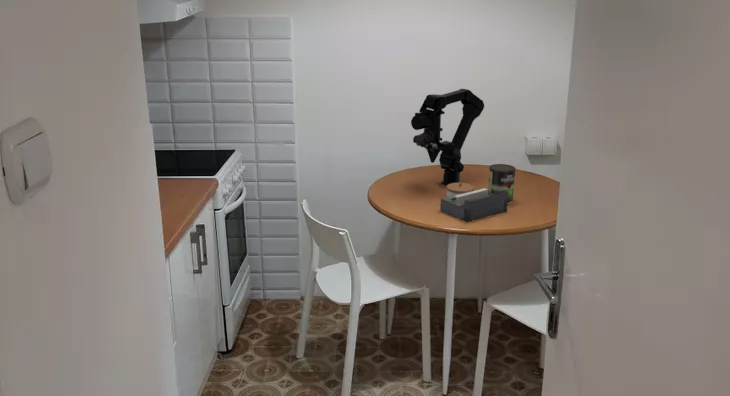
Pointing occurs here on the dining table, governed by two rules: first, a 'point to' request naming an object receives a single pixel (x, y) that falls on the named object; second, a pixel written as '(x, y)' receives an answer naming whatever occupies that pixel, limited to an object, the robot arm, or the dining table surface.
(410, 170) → the dining table surface
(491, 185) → the coffee can
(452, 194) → the lidded jar
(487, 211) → the box
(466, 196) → the grey flat bar
